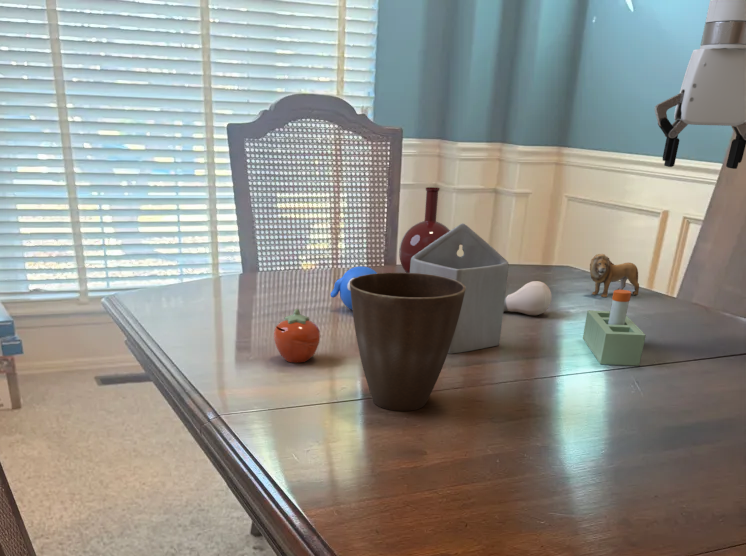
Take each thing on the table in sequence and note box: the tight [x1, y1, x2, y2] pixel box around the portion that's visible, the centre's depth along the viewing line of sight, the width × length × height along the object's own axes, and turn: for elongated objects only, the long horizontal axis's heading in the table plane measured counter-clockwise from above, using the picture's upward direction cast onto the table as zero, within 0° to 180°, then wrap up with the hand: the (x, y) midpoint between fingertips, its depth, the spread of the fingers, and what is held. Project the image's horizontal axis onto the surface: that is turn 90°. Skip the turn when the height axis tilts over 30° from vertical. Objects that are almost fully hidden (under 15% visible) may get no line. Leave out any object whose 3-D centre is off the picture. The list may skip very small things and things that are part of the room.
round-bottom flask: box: [398, 186, 451, 273], centre depth 174 cm, size 13×13×20 cm
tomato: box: [273, 308, 321, 364], centre depth 122 cm, size 7×7×8 cm
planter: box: [410, 223, 510, 355], centre depth 127 cm, size 16×8×19 cm, turn 80°
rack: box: [582, 309, 647, 367], centre depth 130 cm, size 16×6×5 cm, turn 175°
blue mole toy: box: [330, 265, 378, 311], centre depth 150 cm, size 12×12×8 cm
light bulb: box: [503, 280, 553, 316], centre depth 153 cm, size 7×7×11 cm
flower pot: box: [350, 272, 466, 412], centre depth 103 cm, size 15×15×16 cm
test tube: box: [608, 289, 632, 325], centre depth 129 cm, size 3×3×10 cm
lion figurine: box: [589, 253, 640, 298], centre depth 169 cm, size 15×5×9 cm, turn 117°
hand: (699, 167), depth 122 cm, fingers open, 9 cm apart
